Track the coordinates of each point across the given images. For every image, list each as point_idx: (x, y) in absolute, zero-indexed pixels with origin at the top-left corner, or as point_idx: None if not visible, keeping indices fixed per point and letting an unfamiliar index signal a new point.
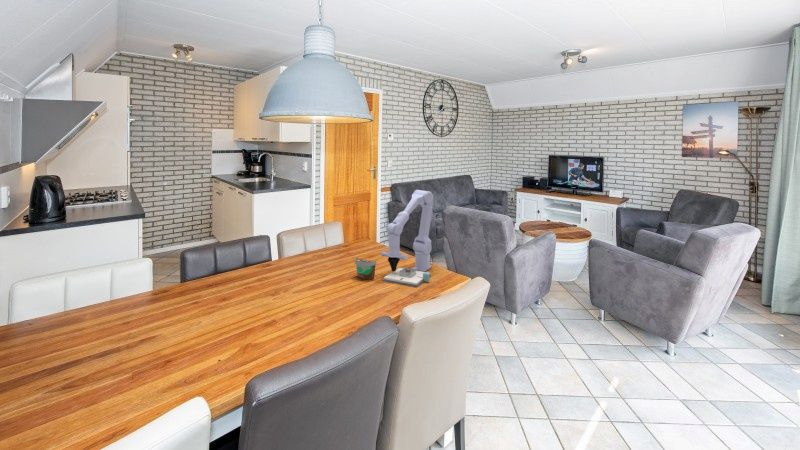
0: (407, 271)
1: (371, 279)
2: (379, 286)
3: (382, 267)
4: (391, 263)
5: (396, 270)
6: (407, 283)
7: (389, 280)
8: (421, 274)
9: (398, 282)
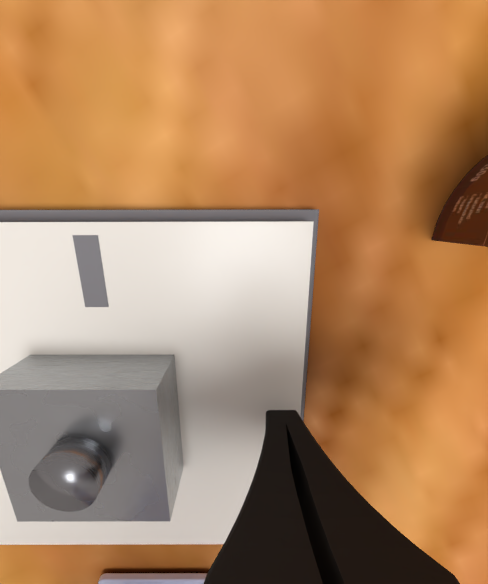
0: (58, 427)
1: (451, 195)
2: (271, 11)
3: (452, 523)
4: (325, 506)
5: None
6: None
7: None
8: None
9: (112, 212)
